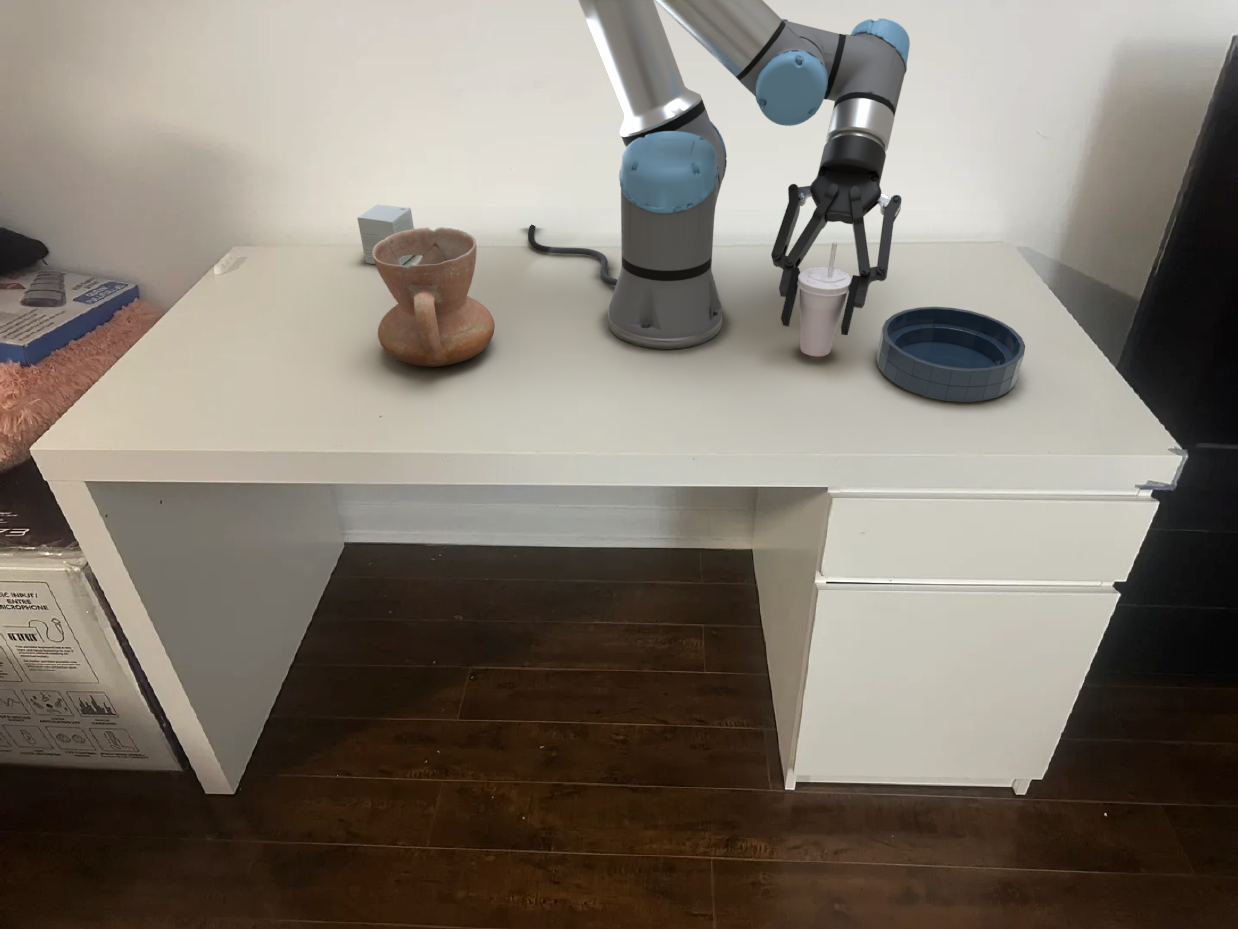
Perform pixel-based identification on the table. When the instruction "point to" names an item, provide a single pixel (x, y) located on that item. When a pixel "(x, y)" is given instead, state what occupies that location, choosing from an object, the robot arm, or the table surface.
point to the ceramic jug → (432, 298)
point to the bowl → (950, 353)
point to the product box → (383, 227)
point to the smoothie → (821, 305)
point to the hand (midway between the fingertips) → (814, 326)
